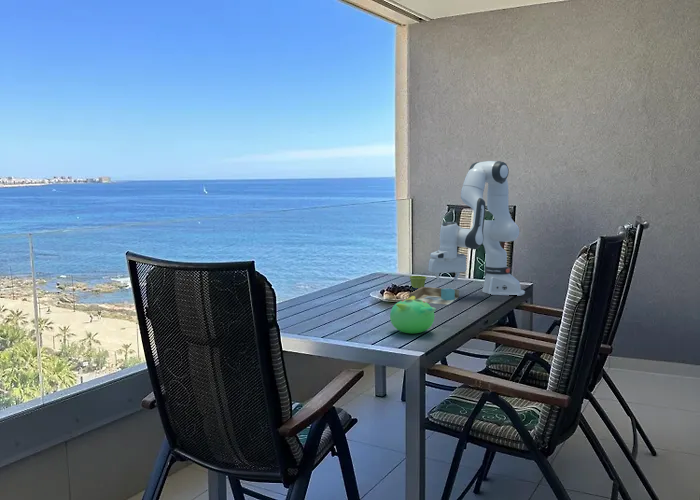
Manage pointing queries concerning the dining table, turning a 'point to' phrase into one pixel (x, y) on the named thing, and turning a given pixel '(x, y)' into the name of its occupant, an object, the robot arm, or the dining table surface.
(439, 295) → the arena
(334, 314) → the dining table surface
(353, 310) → the dining table surface
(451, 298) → the cube
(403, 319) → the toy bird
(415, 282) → the plant pot
